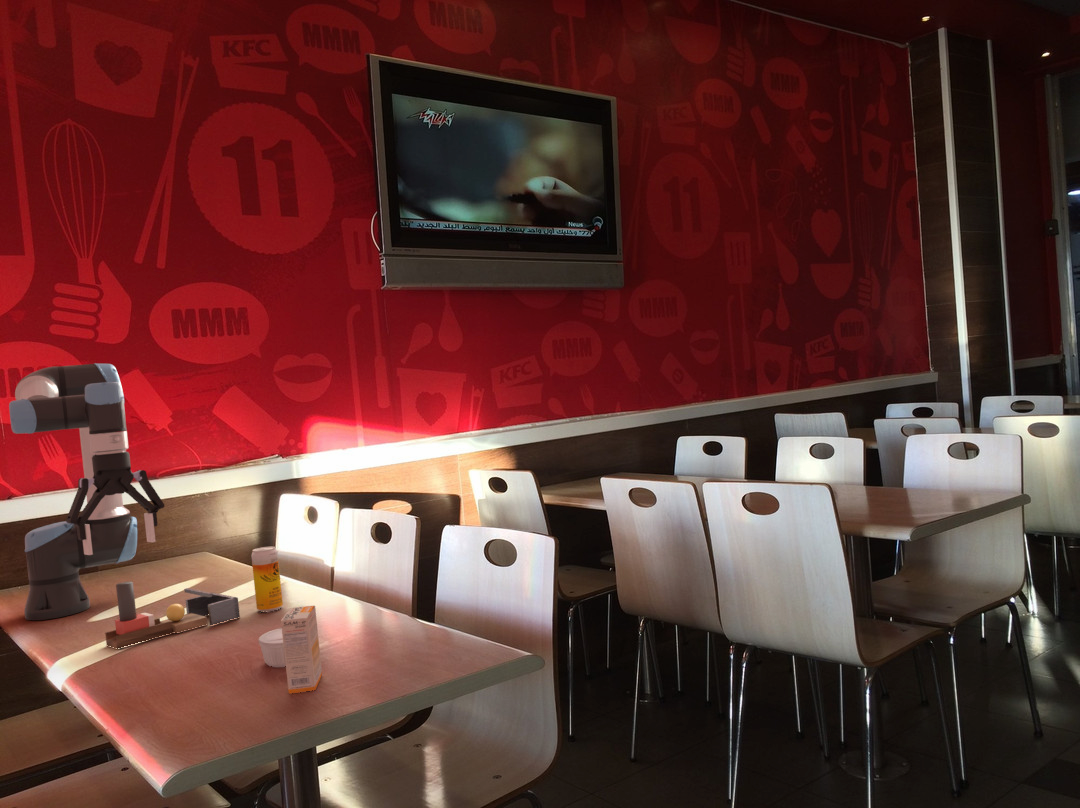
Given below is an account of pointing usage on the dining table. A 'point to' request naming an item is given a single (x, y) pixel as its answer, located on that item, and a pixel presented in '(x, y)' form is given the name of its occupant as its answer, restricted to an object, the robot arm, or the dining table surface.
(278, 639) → the ramekin
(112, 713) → the dining table surface
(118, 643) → the rail
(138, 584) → the dining table surface
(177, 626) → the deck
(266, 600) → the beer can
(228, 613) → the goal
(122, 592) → the post on red base
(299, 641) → the supplement box
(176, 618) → the ball
